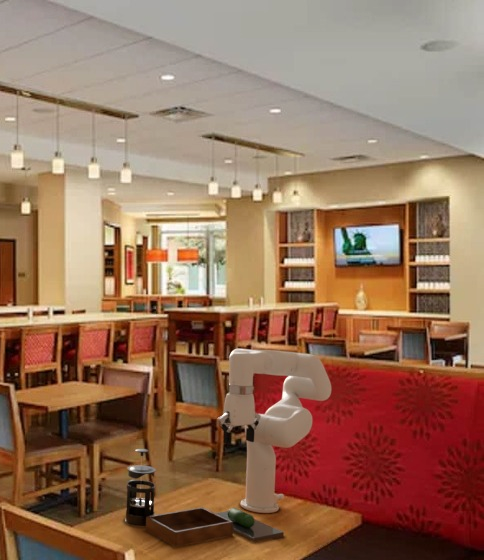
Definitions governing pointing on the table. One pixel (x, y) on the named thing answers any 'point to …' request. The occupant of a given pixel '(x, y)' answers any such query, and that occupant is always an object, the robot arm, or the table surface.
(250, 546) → the table surface
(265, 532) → the board
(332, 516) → the table surface
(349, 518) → the table surface
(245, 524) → the cucumber
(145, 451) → the french press
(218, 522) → the brown wooden tray
